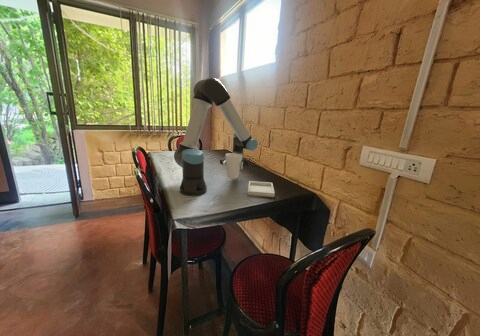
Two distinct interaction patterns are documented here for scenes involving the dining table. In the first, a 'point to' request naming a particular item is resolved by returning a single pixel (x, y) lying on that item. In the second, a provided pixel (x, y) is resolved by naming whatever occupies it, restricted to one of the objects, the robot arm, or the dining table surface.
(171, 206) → the dining table surface
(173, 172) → the dining table surface
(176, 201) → the dining table surface
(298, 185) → the dining table surface
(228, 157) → the foam cup
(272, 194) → the tray
